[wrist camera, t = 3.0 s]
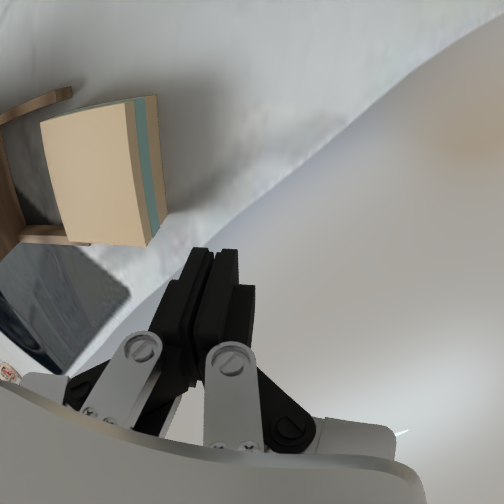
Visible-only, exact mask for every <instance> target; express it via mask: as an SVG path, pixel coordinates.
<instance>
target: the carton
mask: <svg viewBox="0 0 504 504" xmlns="http://www.w3.org/2000/svg"><path fill="white" fill-rule="evenodd" d="M40 127H41V134H42V140H43V146H44V151H45V156H46V161H47V166H48V170H49V174H50V179H51V183H52V187H53V191H54V194H55V198H56V202H57V205H58V209H59V212H60V215H61V219H62V222H63V225H64V228H65V231H66V234H67V237H68V240H69V241H70V242H84V243H98V244H111V245H125V246H139V247H147V245H148V243H149V242H150V240H151V239H152V238H153V237H154V236H155V234H156V233H157V231H158V230H159V228H160V225H161V224H162V223H163V221H164V220H165V218H166V217H167V215H168V210H167V203H166V195H165V187H164V178H163V169H162V160H161V149H160V138H159V125H158V110H157V95H150V96H142V97H135V98H129V99H123V100H117V101H111V102H106V103H101V104H96V105H92V106H87V107H83V108H79V109H76V110H73V111H70V112H66V113H62V114H60V115H57V116H54V117H51V118H50V119H48V120H45V121H43V122H40Z"/></svg>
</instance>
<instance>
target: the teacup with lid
mask: <svg viewBox="0 0 504 504" xmlns="http://www.w3.org/2000/svg"><path fill="white" fill-rule="evenodd" d="M0 367H1V368H0V380H4V381H9V382H12V383H15V381H16V379H17V377H18V373H17V372H16V370H15V369H13V368H12V367H11V366H10V365H9V364H7V363H5V362H3V364H2V366H1V365H0Z"/></svg>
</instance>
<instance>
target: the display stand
mask: <svg viewBox="0 0 504 504" xmlns="http://www.w3.org/2000/svg"><path fill="white" fill-rule="evenodd" d="M71 97H72V93H71V86H70V87H66V88H62V89H57V90H54V91H51V92H49V93H46V94H44V95H41V96H39V97H37V98H34V99H32V100H30V101H27V102H25V103H23V104H21V105H19V106H17V107H15V108H13V109H10V110H8V111H7V112H5V113H3V114H1V115H0V262H1V261H2V259H3V258H4V257H5V256H6V255H7V254H8V253H9V252H10V251H11V250H12V249H13V248H14V247H15V246H16V245H17V244H18V243H19V242H29V243H45V244H62V245H79V246H90V245H91V244H92V243H84V242H70V241H69V240H68V237H67V234H66V231H65V228H64V225H27V224H26V221H25V219H24V216H23V213H22V210H21V207H20V204H19V201H18V197H17V194H16V191H15V187H14V184H13V180H12V177H11V173H10V169H9V165H8V161H7V156H6V151H5V147H4V142H3V136H2V130H1V125H2V124H4V123H6V122H8V121H11V120H13V119H15V118H17V117H20V116H22V115H24V114H27V113H29V112H32V111H34V110H37V109H39V108H42V107H45V106H47V105H50V104H53V103H56V102H59V101H62V100H65V99H68V98H71Z"/></svg>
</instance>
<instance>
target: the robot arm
mask: <svg viewBox="0 0 504 504" xmlns="http://www.w3.org/2000/svg"><path fill="white" fill-rule="evenodd" d="M254 313H255V285H242V284H239V272H238V250H237V249H222V251H221V252H217V253H216V256H215V259H214V253H213V252H209V250H208V248H200V247H193V248H192V250H191V253H190V255H189V257H188V259H187V262H186V264H185V266H184V268H183V271H182V273H181V275H180V278H179V280H171V281H170V282H169V284H168V286H167V288H166V290H165V293H164V295H163V297H162V299H161V301H160V304H159V306H158V308H157V311H156V313H155V315H154V318H153V320H152V322H151V325H150V327H149V329H148V331H138V332H135V333H132V334H130V335H129V336H127V337H126V338H125V339H124V340H123V342H122V343H121V345H120V346H119V348H118V349H117V351H116V352H115V354H114V355H113V357H112V359H110V360H108V361H106V362H104V363H102V364H100V365H97V366H95V367H93V368H91V369H89V370H87V371H85V372H83V373H81V374H79V375H77V376H75V377H74V378H72V379H70V378H69V376H62V375H52V374H44V373H36V372H30V373H28V374H26V375H24V377H23V378H22V379H21V381H20V383H19V385H17V384H15V383H12V382H9V381H4V380H0V504H427V502H426V497H425V492H424V488H423V485H422V482H421V480H420V478H419V476H418V475H417V473H416V472H415V471H414V470H413V469H411V468H410V467H408V466H406V465H404V464H402V463H399V462H397V461H394V457H395V450H396V437H395V435H394V433H393V431H392V430H390V429H389V428H388V427H386V426H382V425H375V424H367V423H360V422H353V421H345V420H340V419H334V418H328V417H325V419H322V418H316V417H312V416H311V415H310V414H309V413H308V412H307V411H305V410H304V409H303V408H302V407H301V406H300V405H298V404H297V403H296V402H295V401H294V400H293V399H292V398H291V397H289V396H288V395H287V394H286V393H285V392H284V391H283V390H282V389H280V388H279V387H278V386H277V385H276V384H275V383H274V382H273V381H272V380H271V379H270V378H268V377H267V376H266V375H265V374H264V373H263V372H262V371H261V370H260V369H259V368H258V367H257V366H256V358H255V355H254V353H253V351H252V350H251V342H252V332H253V324H254ZM197 380H199V381H201V380H202V383H203V386H204V390H205V393H204V396H205V397H204V436H203V446H198V445H193V444H187V443H182V442H177V441H173V440H168V439H164V438H165V435H166V433H167V431H168V429H169V426H170V424H171V422H172V419H173V417H174V415H175V413H176V410H177V408H178V406H179V404H180V401H181V398H182V394H183V393H185V392H187V391H188V388H189V387H194V388H195V387H196V383H197Z"/></svg>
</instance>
